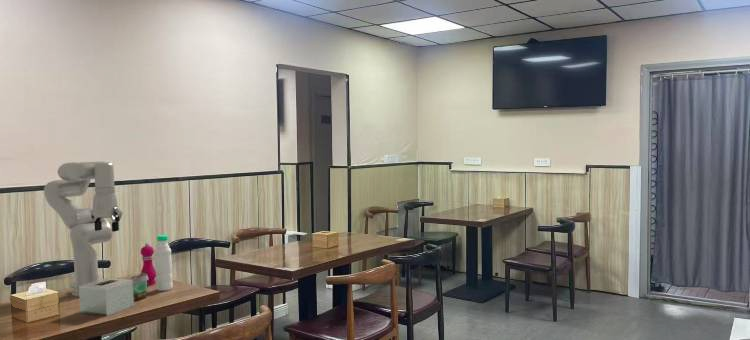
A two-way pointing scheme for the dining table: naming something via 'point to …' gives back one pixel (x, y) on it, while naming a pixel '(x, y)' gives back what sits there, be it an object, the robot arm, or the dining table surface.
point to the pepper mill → (148, 264)
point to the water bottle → (163, 264)
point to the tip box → (106, 296)
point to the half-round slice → (139, 286)
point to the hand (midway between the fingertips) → (106, 230)
